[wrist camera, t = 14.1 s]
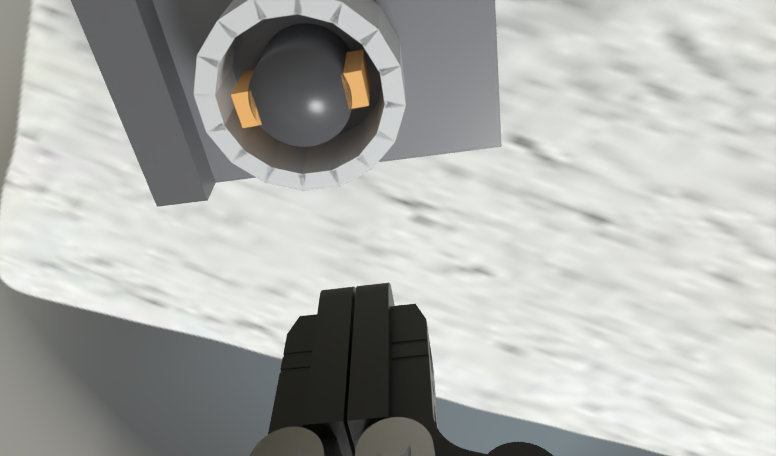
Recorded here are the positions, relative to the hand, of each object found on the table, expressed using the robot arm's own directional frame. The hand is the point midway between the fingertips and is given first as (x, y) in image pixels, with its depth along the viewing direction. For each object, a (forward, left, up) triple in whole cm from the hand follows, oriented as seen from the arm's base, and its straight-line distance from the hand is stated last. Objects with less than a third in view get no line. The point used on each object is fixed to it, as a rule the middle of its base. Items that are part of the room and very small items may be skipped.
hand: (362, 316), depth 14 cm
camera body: (+4, +2, -29) cm, 29 cm away
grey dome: (+4, +2, -22) cm, 22 cm away
